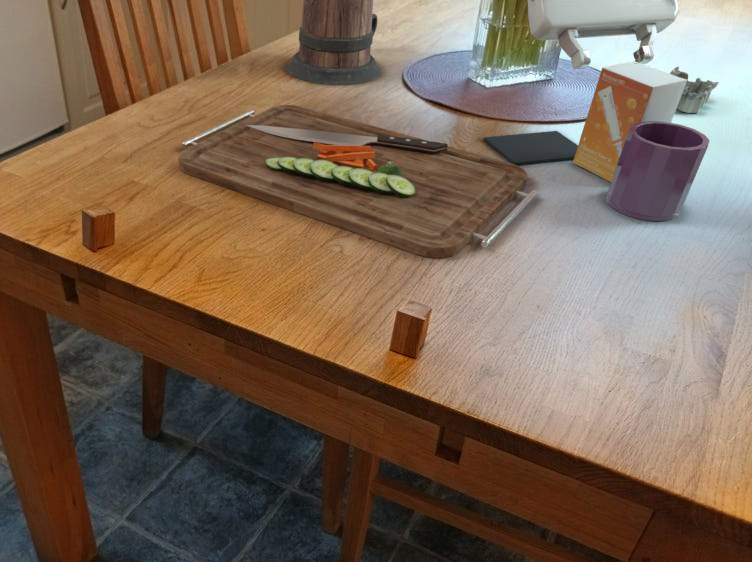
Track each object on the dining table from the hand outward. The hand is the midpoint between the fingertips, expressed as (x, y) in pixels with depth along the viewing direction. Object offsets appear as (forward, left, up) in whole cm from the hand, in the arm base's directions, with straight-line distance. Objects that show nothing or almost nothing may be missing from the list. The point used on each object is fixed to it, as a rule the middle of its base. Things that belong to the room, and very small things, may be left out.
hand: (614, 64), depth 94 cm
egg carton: (-28, -15, -12) cm, 34 cm away
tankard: (+21, -45, -12) cm, 51 cm away
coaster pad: (+6, -3, -12) cm, 14 cm away
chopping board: (+35, -1, -12) cm, 37 cm away
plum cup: (+2, +15, -12) cm, 20 cm away
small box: (0, +6, -12) cm, 14 cm away
